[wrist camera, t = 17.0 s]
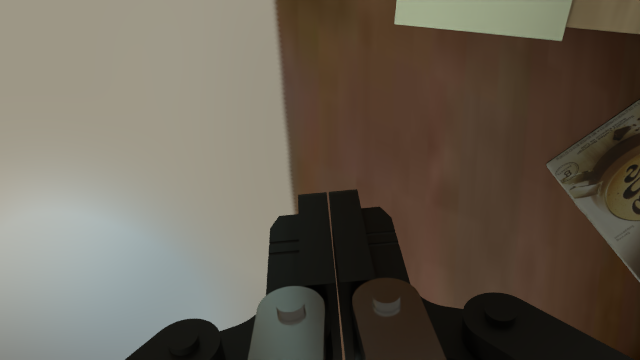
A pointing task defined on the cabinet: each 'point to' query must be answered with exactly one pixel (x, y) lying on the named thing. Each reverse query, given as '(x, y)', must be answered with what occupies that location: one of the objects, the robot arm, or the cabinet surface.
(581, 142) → the coffee box
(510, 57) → the cabinet surface
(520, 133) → the cabinet surface
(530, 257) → the cabinet surface
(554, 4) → the domino
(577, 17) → the domino
